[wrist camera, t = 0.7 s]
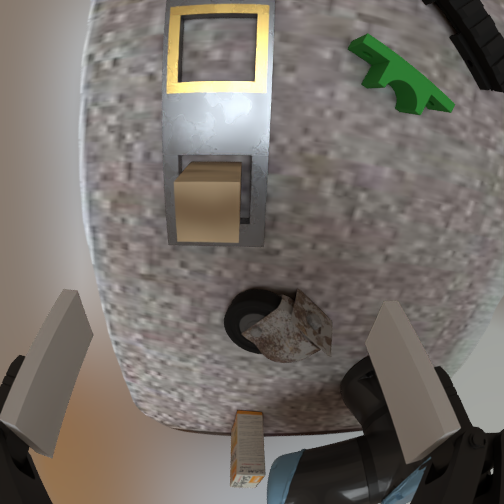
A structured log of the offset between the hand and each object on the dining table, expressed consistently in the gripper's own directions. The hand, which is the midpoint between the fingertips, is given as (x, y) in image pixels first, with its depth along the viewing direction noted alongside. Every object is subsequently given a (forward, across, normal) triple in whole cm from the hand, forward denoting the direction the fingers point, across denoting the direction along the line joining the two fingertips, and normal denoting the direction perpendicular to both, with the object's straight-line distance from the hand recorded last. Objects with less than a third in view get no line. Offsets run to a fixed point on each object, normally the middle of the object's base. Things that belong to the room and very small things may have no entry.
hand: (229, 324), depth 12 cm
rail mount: (+22, -23, -24) cm, 40 cm away
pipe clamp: (+21, -15, -11) cm, 29 cm away
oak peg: (+21, +2, +2) cm, 21 cm away
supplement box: (+17, -4, +44) cm, 48 cm away
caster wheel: (+19, -6, +18) cm, 27 cm away
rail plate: (+21, +2, -5) cm, 22 cm away
